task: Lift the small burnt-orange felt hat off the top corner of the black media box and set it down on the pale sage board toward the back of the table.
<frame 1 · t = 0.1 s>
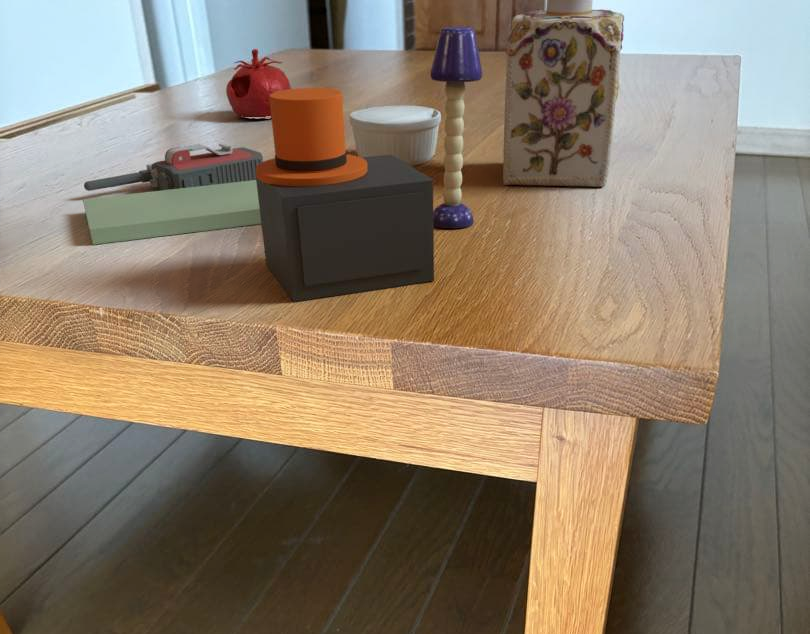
red hollow tomato: (262, 117, 137), on the table
ramekin: (396, 161, 110), on the table
media box: (347, 272, 75), on the table
decorative jar: (556, 176, 102), on the table
board: (189, 216, 91), on the table
walkie-talkie: (182, 191, 101), on the table
hat: (312, 172, 71), point 8 cm above the table, touching media box
toy lamp: (454, 224, 87), on the table
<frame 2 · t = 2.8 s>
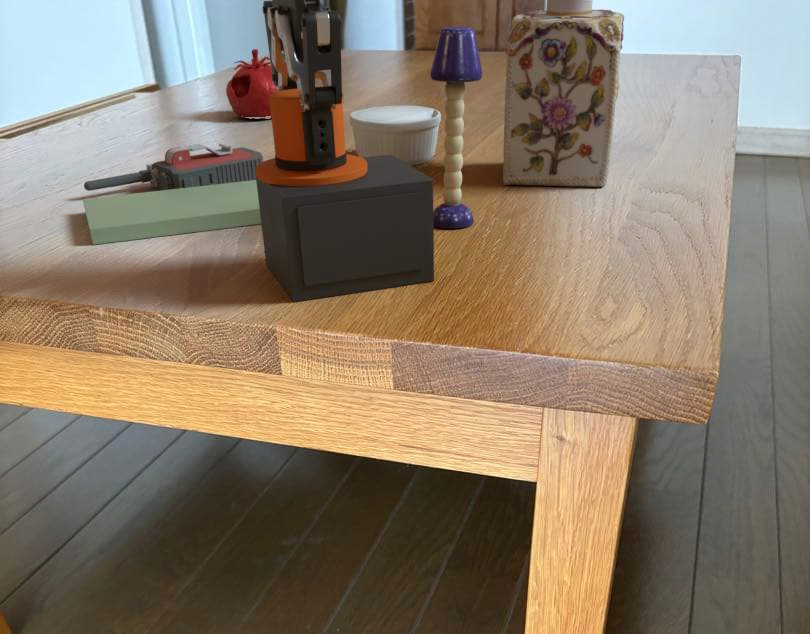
hand: (310, 154, 71), 9 cm above the table, tool pointing down, fingers closed on hat, 5 cm apart
hat: (312, 172, 71), point 8 cm above the table, touching gripper, media box
everything else where it was.
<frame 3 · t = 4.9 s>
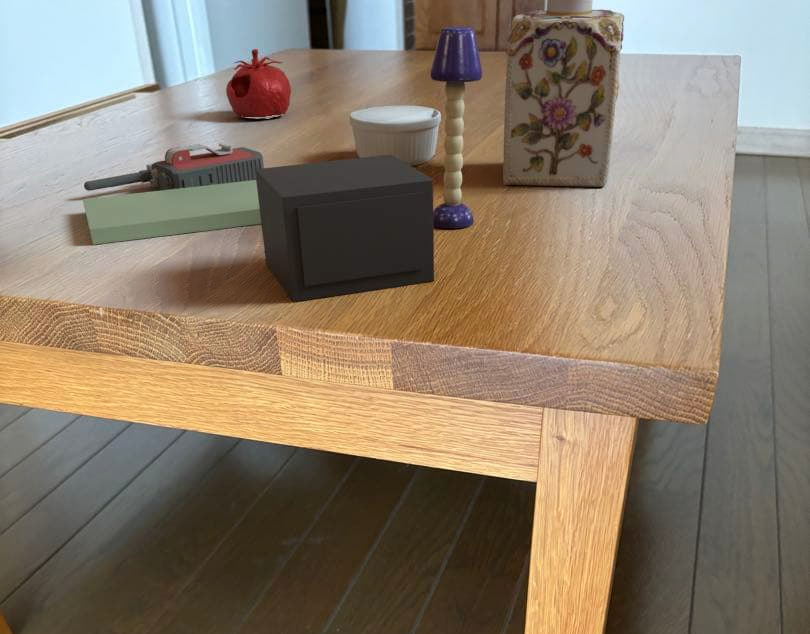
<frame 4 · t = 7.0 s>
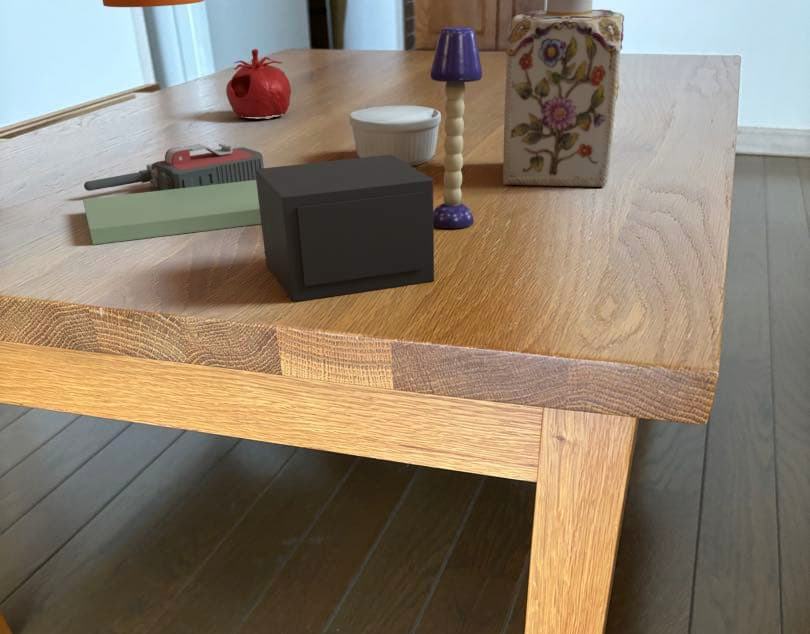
hat: (154, 2, 80), point 19 cm above the table, touching gripper
everything else where it was.
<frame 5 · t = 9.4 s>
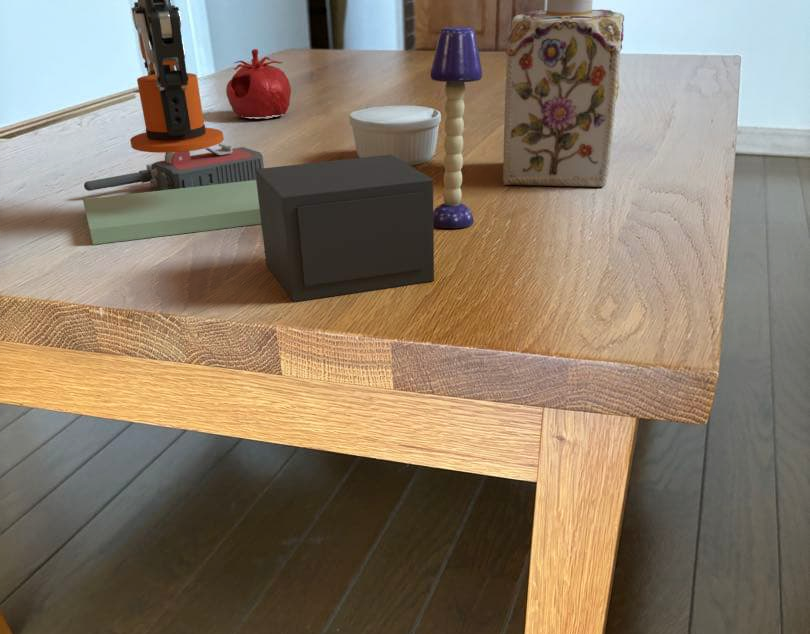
hand: (175, 127, 86), 8 cm above the table, tool pointing down, fingers closed on hat, 5 cm apart
hat: (177, 142, 87), point 7 cm above the table, touching gripper
everything else where it was.
when the fingers open (3 cm above the table, at t = 11.3 s): hat stays where it is, resting on board.
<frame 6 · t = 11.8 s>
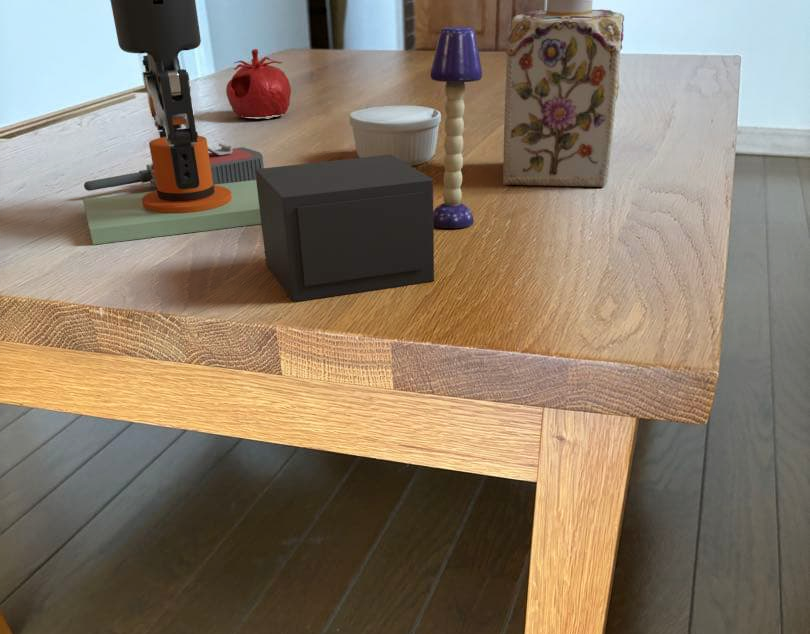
hand: (182, 178, 89), 4 cm above the table, tool pointing down, fingers open, 8 cm apart
hat: (187, 201, 90), point 1 cm above the table, touching board
everything else where it was.
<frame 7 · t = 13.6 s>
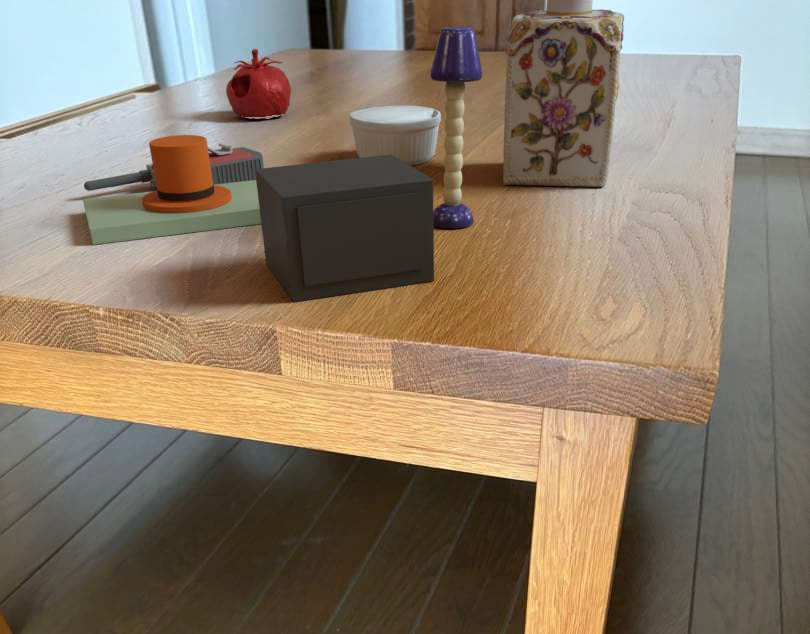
nothing on the table moved.
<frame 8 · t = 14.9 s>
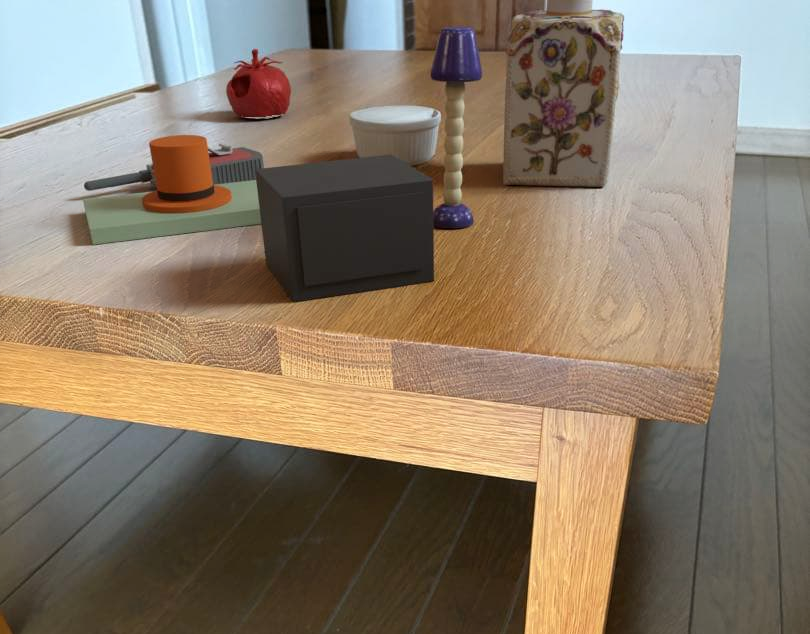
nothing on the table moved.
at the end: hat inside the target area on the board (0.1 cm from its centre), point 1.5 cm above the board's base; hat touching board; hat tilted 0° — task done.
